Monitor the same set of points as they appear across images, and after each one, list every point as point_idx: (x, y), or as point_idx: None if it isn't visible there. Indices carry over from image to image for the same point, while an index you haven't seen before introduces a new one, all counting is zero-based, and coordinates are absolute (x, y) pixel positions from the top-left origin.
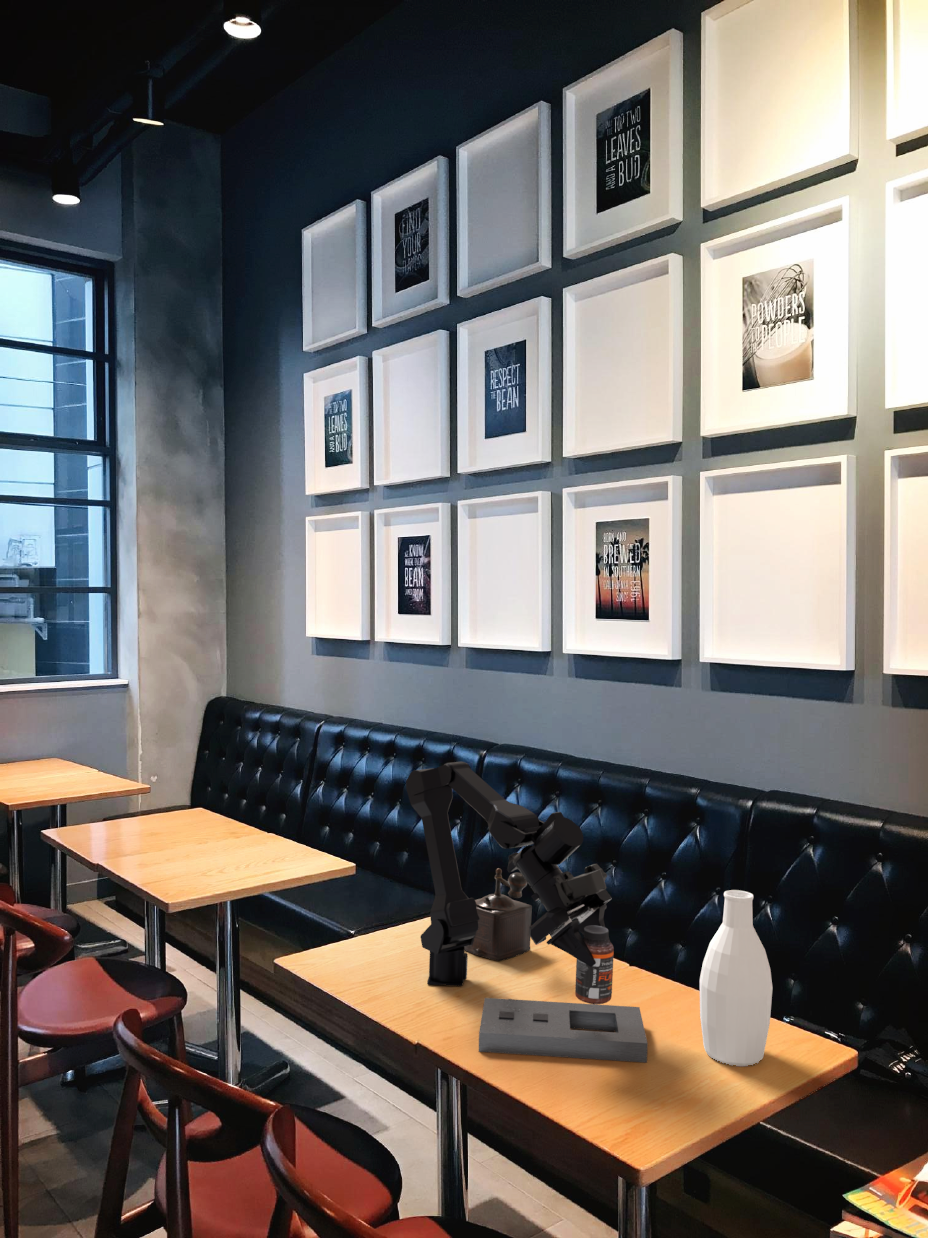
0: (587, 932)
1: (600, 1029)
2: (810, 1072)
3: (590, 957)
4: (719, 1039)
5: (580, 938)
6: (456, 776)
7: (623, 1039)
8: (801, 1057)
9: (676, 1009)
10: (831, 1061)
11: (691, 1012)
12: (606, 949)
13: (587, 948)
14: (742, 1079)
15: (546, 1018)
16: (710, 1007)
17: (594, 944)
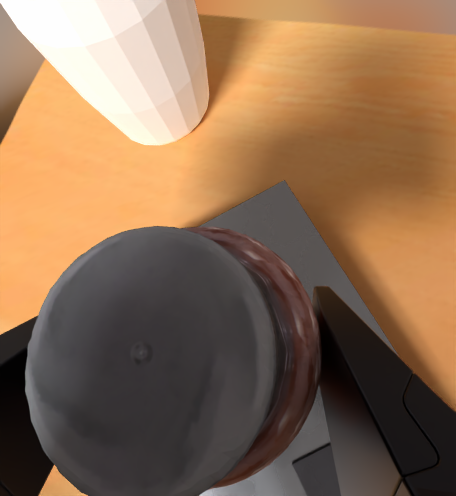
0: (268, 405)
1: None
2: None
3: (347, 308)
4: (204, 73)
5: (420, 424)
6: None
7: (300, 227)
8: None
9: (29, 250)
10: None
11: (32, 222)
12: (242, 237)
13: (348, 340)
14: (242, 66)
15: (322, 455)
16: (183, 35)
17: (275, 310)
